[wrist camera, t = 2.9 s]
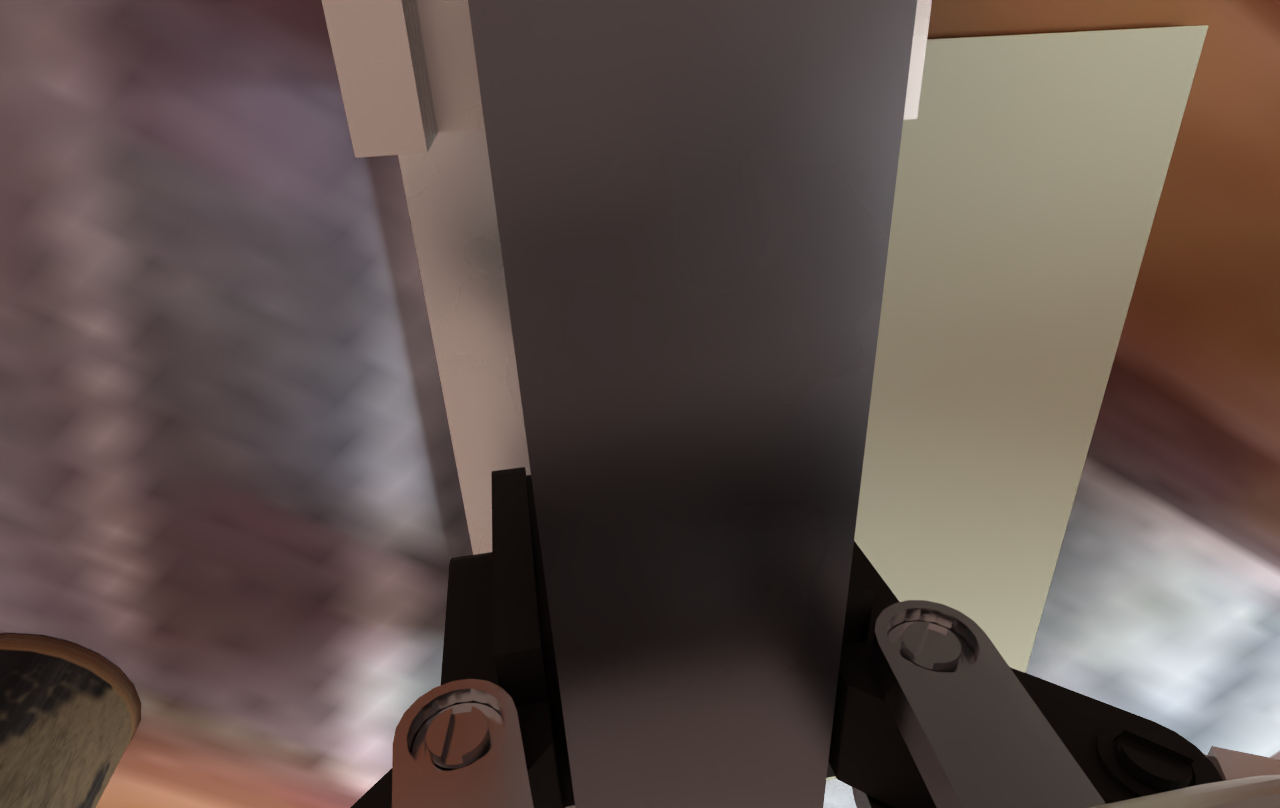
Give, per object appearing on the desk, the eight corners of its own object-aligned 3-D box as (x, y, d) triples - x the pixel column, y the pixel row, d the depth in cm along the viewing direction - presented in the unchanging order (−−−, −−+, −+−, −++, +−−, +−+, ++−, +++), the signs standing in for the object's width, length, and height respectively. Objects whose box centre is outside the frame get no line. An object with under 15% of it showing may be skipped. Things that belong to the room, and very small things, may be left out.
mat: (1187, 25, 18) (1208, 25, 17) (996, 729, 30) (1005, 742, 29) (892, 40, 17) (905, 40, 16) (815, 767, 29) (822, 781, 28)
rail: (779, -639, 6) (1074, -1334, 3) (731, 970, 17) (781, 1160, 14) (384, -676, 5) (260, -1548, 2) (603, 1002, 16) (628, 1205, 13)
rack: (707, -173, 14) (1124, -585, 5) (707, 640, 24) (844, 1008, 15) (342, -172, 13) (-1, -691, 4) (499, 677, 23) (508, 1099, 14)
